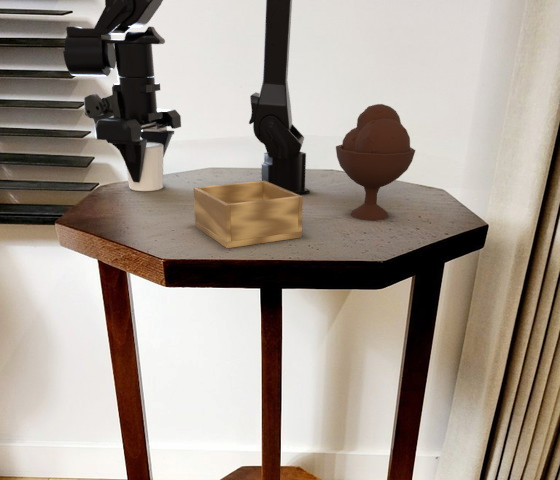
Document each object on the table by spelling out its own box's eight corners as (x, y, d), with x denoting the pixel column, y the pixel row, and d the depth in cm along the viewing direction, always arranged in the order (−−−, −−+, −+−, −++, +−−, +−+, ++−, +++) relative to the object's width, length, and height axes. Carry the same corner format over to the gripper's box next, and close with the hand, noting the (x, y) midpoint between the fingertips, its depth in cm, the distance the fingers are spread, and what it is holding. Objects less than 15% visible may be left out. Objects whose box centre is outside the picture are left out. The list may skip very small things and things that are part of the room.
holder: (264, 218, 87) (264, 180, 84) (301, 237, 79) (303, 196, 76) (195, 226, 83) (193, 187, 80) (226, 248, 74) (225, 205, 72)
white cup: (157, 192, 100) (153, 148, 97) (119, 190, 101) (114, 146, 98) (172, 184, 106) (169, 142, 102) (135, 182, 107) (131, 140, 104)
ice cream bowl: (319, 210, 91) (324, 102, 84) (382, 204, 95) (392, 100, 88) (354, 228, 83) (362, 110, 75) (421, 220, 87) (436, 107, 79)
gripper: (120, 72, 105) (130, 165, 113) (56, 78, 89) (73, 186, 97) (179, 74, 102) (185, 169, 110) (123, 80, 87) (135, 191, 94)
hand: (145, 178), depth 103 cm, fingers closed on white cup, 6 cm apart
